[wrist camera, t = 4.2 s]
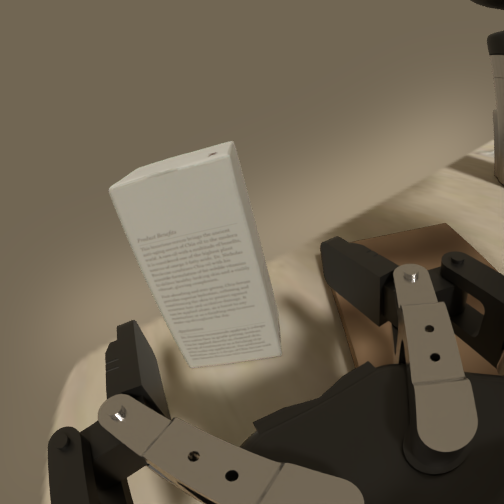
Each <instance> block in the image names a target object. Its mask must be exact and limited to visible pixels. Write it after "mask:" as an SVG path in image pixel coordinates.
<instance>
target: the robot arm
mask: <svg viewBox="0 0 504 504" xmlns="http://www.w3.org/2000/svg"><path fill="white" fill-rule="evenodd" d="M471 1H473V2H474V3H476V4H479V5H482V6H485V7H489V8H495V9H501V10H504V0H471ZM487 45H488V50H489V55H490V60H491V65H492V72H493V77H494V78H493V79H494V86H495V94H496V105H497V110H494V111H493V123H494V153H495V166H494V176H496V177H498V179H499V181H500V183H502V184H503V185H504V31H501V32H497V33H494V34H491V35H489V36H488V38H487ZM321 256H322V263H323V270H324V276H325V279H326V281H327V283H328V285H329V286H330V287H331V288H332V289H333V290H335V291H336V292H337V293H338V294H339V295H341V296H342V297H343V298H344V299H346V300H347V301H348V302H349V303H350V304H352V305H353V306H354V307H355V308H357V309H358V310H359V311H360V312H361V313H363V314H364V315H365V316H366V317H368V318H369V319H370V320H371V321H372V322H374V323H375V324H376V325H377V326H378V327H380V326H381V325H383V324H385V323H386V322H388V321H389V322H391V337H392V348H393V363H394V364H387V365H382V366H378V367H374V366H373V365H372V364H371V363H370V362H369V361H367V362H366V363H364V364H362V365H361V366H359V367H357V368H356V369H354V370H352V371H351V372H349V373H347V374H346V375H344V376H343V377H341V378H340V379H339V380H338V381H337V382H336V383H335V384H334V385H333V386H332V387H331V388H330V389H328V390H327V391H326V392H325V393H324V394H323V395H322V396H321V397H319V398H317V399H314V400H311V401H307V402H304V403H300V404H297V405H293V406H289V407H285V408H282V409H280V410H278V411H276V412H274V413H272V414H270V415H268V416H266V417H263V418H261V419H259V420H257V421H255V422H253V424H254V426H255V428H256V430H257V431H256V432H255V433H253V434H252V435H251V436H250V437H249V438H248V439H247V440H245V442H244V443H243V444H242V445H241V446H240V447H237V446H235V445H233V444H231V443H228V442H226V441H224V440H222V439H219V438H217V437H215V436H213V435H211V434H209V433H207V432H205V431H203V430H201V429H199V428H197V427H195V426H193V425H191V424H189V423H187V422H185V421H183V420H181V419H178V418H173V419H172V420H171V417H170V413H169V410H168V406H167V402H166V398H165V394H164V390H163V386H162V381H161V377H160V373H159V368H158V364H157V360H156V357H155V355H154V353H153V350H152V349H151V347H150V345H149V343H148V342H147V340H146V338H145V336H144V335H143V333H142V331H141V329H140V327H139V326H138V324H137V322H136V321H135V320H132V321H129V322H127V323H124V324H122V325H119V326H117V340H116V341H114V342H111V343H110V344H109V346H108V349H107V351H106V353H105V360H106V393H107V400H106V401H105V402H104V403H103V404H102V405H101V407H100V409H99V412H98V421H97V422H95V423H94V424H92V425H91V426H89V427H88V428H86V429H85V430H83V431H81V432H79V431H77V430H76V429H75V428H73V427H63V428H61V429H59V430H57V431H56V432H55V433H54V434H53V435H52V437H51V438H50V440H49V443H48V470H49V486H50V497H51V504H134V503H133V500H132V496H131V493H130V489H129V485H128V481H127V477H129V476H130V475H132V474H133V473H135V472H136V471H138V470H139V469H141V468H142V467H144V466H146V467H148V468H149V469H151V470H152V471H153V472H155V473H156V474H158V475H159V476H161V477H162V478H164V479H165V480H167V481H168V482H170V483H171V484H173V485H174V486H176V487H178V488H179V489H181V490H182V491H184V492H185V493H187V494H188V495H190V496H191V497H193V498H195V499H196V500H198V501H199V502H201V503H203V504H504V275H502V274H500V273H499V272H497V271H495V270H494V269H492V268H490V267H489V266H487V265H485V264H483V263H482V262H480V261H478V260H476V259H475V258H473V257H471V256H469V255H467V254H465V253H463V252H457V251H453V252H448V253H446V254H444V255H443V256H442V259H441V266H440V267H437V268H433V269H430V270H426V269H425V268H424V267H422V266H420V265H417V264H404V265H401V266H399V265H397V264H395V263H394V262H392V261H390V260H389V259H387V258H385V257H383V256H382V255H380V254H379V255H378V253H376V252H375V251H371V249H369V248H367V247H366V246H364V245H361V244H357V243H352V242H351V243H349V242H347V241H346V240H344V239H342V238H340V237H338V236H337V237H334V238H332V239H329V240H327V241H325V242H323V243H321ZM468 293H469V294H470V295H472V296H473V297H474V298H476V299H477V300H479V301H480V302H481V303H482V304H483V306H484V310H485V312H484V315H483V314H481V313H480V312H479V311H477V310H476V309H474V308H473V307H472V306H470V305H469V304H467V303H466V301H467V296H468ZM454 334H455V335H456V336H458V337H459V338H460V339H461V340H463V341H464V342H465V343H466V344H467V345H469V346H470V347H471V348H472V349H473V350H475V351H476V352H477V353H478V354H479V355H481V356H482V357H483V358H484V359H485V360H487V361H488V362H489V363H490V364H491V365H492V366H494V367H495V368H496V369H497V371H498V374H499V375H490V374H480V373H470V372H464V371H463V366H462V362H461V358H460V354H459V350H458V346H457V342H456V339H455V335H454Z"/></svg>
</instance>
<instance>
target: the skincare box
mask: <svg viewBox="0 0 504 504" xmlns="http://www.w3.org/2000/svg"><path fill="white" fill-rule="evenodd" d="M109 195H110V197H111V199H112V202H113V204H114V207H115V210H116V212H117V214H118V217H119V219H120V222H121V224H122V227H123V229H124V232H125V234H126V236H127V239H128V241H129V243H130V246H131V248H132V250H133V253H134V255H135V257H136V260H137V262H138V265H139V267H140V269H141V271H142V273H143V276H144V278H145V280H146V282H147V284H148V286H149V288H150V291H151V293H152V295H153V297H154V299H155V301H156V303H157V305H158V308H159V310H160V312H161V314H162V316H163V318H164V320H165V322H166V324H167V326H168V328H169V330H170V332H171V334H172V336H173V338H174V340H175V342H176V343H177V345H178V347H179V349H180V351H181V353H182V355H183V357H184V359H185V360H186V362H187V364H188V365H189V367H190V368H196V367H205V366H213V365H222V364H230V363H237V362H244V361H251V360H258V359H264V358H271V357H277V356H281V354H282V351H281V335H280V326H279V314H278V309H277V305H276V301H275V297H274V293H273V289H272V285H271V281H270V277H269V273H268V269H267V266H266V262H265V258H264V254H263V250H262V246H261V242H260V238H259V235H258V231H257V227H256V223H255V219H254V215H253V211H252V208H251V204H250V200H249V196H248V192H247V188H246V184H245V181H244V178H243V173H242V170H241V166H240V162H239V158H238V154H237V150H236V147H235V144H234V142H233V141H230V142H226V143H222V144H219V145H215V146H212V147H208V148H205V149H201V150H198V151H194V152H190V153H186V154H183V155H179V156H176V157H172V158H168V159H165V160H162V161H159V162H155V163H152V164H149V165H146V166H143V167H140V168H138V169H136V170H135V171H133V172H131V173H130V174H129V175H127V176H126V177H124V178H123V179H121V180H120V181H118V182H117V183H115V184H114V185H112V186H111V187H110V188H109Z"/></svg>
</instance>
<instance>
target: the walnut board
mask: <svg viewBox="0 0 504 504" xmlns="http://www.w3.org/2000/svg"><path fill="white" fill-rule="evenodd" d="M349 243H351V242H349ZM352 243H357V244H361V245H364V246H366V247H367V248H369V249H371V251H375V252H376V253H378V255H379V254H380V255H382V256H383V257H385V258H387V259H389V260H390V261H392V262H394V263H395V264H397V265H399V266H401V265H404V264H417V265H420V266H422V267H424V268H425V269H426V270H430V269H433V268H437V267H440V266H441V259H442V256H443V255H444V254H446V253H448V252H453V251H457V252H463V253H465V254H467V255H469V256H471V257H473V258H475V259H476V260H478V261H480V262H482V263H483V264H485V265H487V266H489V267H490V268H492V269H494V270H495V271H497V270H496V269H495V268H494V267H493V266H492V265H491V264H490V263H489V262H488V261H487V260H486V259H485V258H484V257H483V256H482V255H480V254H479V253H478V252H477V251H476V250H475V249H474V248H473V247H472V246H471V245H470V244H469V243H468V242H467V241H466V240H464V239H463V238H462V237H461V236H460V235H459V234H458V233H457V232H456V231H454V230H453V229H452V228H451V227H450V226H449V225H448V224H446V223H443V224H438V225H433V226H428V227H423V228H418V229H413V230H408V231H404V232H399V233H394V234H389V235H384V236H379V237H374V238H369V239H364V240H359V241H354V242H352ZM320 251H321V248H320ZM321 258H322V256H321ZM497 272H498V271H497ZM331 289H332V288H331ZM332 292H333V295H334V299H335V302H336V305H337V308H338V311H339V314H340V318H341V321H342V324H343V327H344V331H345V334H346V337H347V341H348V344H349V347H350V351H351V354H352V358H353V361H354V365H355V368H357V367H359V366H361V365H362V364H364V363H366V362H367V361H369V362H370V363H371V364H372V365H373V366H374V367H378V366H382V365H387V364H394V363H393V348H392V337H391V322H389V321H388V322H386V323H385V324H383V325H381V326H380V327H378V326H377V325H376V324H375V323H374V322H372V321H371V320H370V319H369V318H368V317H366V316H365V315H364V314H363V313H361V312H360V311H359V310H358V309H357V308H355V307H354V306H353V305H352V304H350V303H349V302H348V301H347V300H346V299H344V298H343V297H342V296H341V295H339V294H338V293H337V292H336V291H335V290H333V289H332ZM466 303H467V304H469V305H470V306H472V307H473V308H474V309H476V310H477V311H479V312H480V313H481V314H483V315H484V312H485V310H484V306H483V304H482V303H481V302H480V301H479V300H477V299H476V298H474V297H473V296H472V295H470V294H469V293H468V296H467V301H466ZM454 335H455V334H454ZM455 339H456V342H457V346H458V350H459V354H460V358H461V362H462V366H463V371H464V372H470V373H480V374H490V375H499V374H498V371H497V369H496V368H495V367H494V366H492V365H491V364H490V363H489V362H488V361H487V360H485V359H484V358H483V357H482V356H481V355H479V354H478V353H477V352H476V351H475V350H473V349H472V348H471V347H470V346H469V345H467V344H466V343H465V342H464V341H463V340H461V339H460V338H459V337H458V336H456V335H455Z"/></svg>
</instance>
